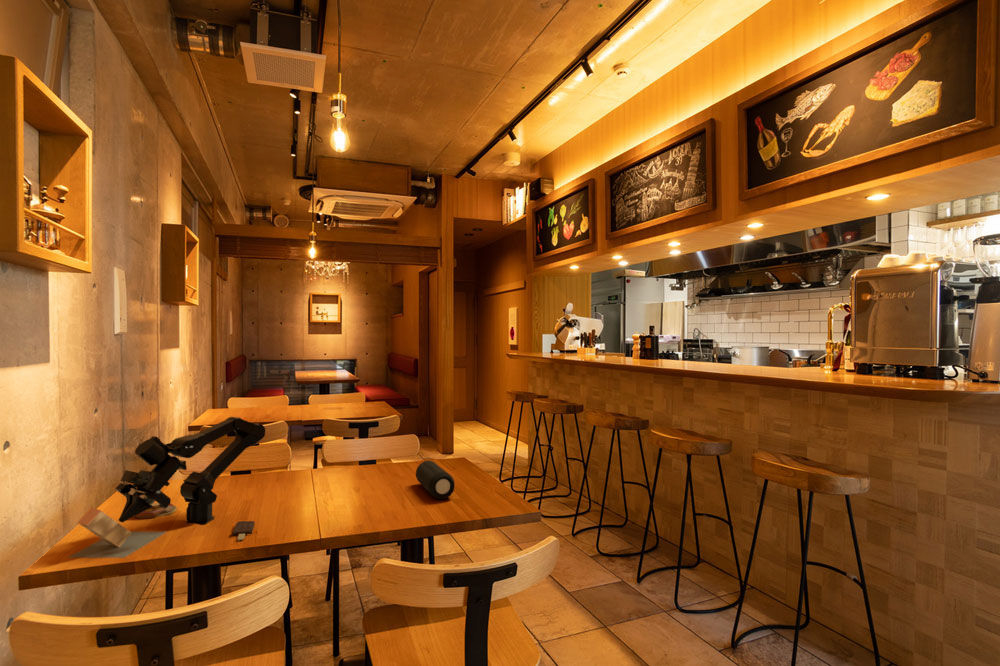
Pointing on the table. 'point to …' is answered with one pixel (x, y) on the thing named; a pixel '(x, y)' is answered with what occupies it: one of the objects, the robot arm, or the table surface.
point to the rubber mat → (110, 551)
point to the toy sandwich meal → (157, 511)
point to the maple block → (105, 527)
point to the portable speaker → (435, 480)
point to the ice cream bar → (243, 529)
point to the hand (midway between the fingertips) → (120, 521)
